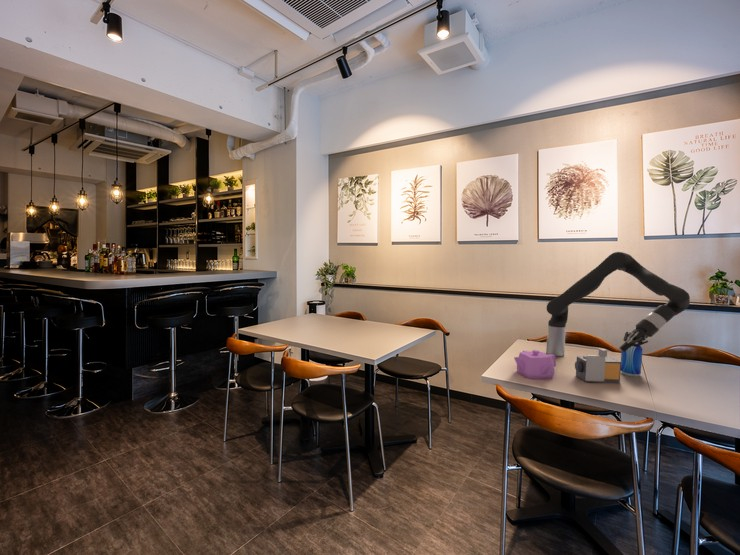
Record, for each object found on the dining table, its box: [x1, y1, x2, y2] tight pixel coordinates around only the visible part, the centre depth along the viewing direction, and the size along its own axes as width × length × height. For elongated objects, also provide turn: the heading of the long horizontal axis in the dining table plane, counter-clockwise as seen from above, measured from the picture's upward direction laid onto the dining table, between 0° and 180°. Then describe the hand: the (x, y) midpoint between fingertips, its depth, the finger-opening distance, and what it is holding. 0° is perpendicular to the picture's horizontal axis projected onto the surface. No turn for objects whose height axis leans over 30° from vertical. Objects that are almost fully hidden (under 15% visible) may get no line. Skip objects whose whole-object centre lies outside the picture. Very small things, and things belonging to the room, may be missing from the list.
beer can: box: [620, 341, 643, 378], centre depth 177 cm, size 8×8×16 cm
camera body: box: [574, 355, 622, 384], centre depth 169 cm, size 18×8×11 cm, turn 86°
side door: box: [585, 348, 608, 381], centre depth 164 cm, size 8×3×15 cm, turn 86°
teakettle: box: [513, 349, 556, 380], centre depth 175 cm, size 17×17×12 cm
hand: (621, 350), depth 163 cm, fingers closed
